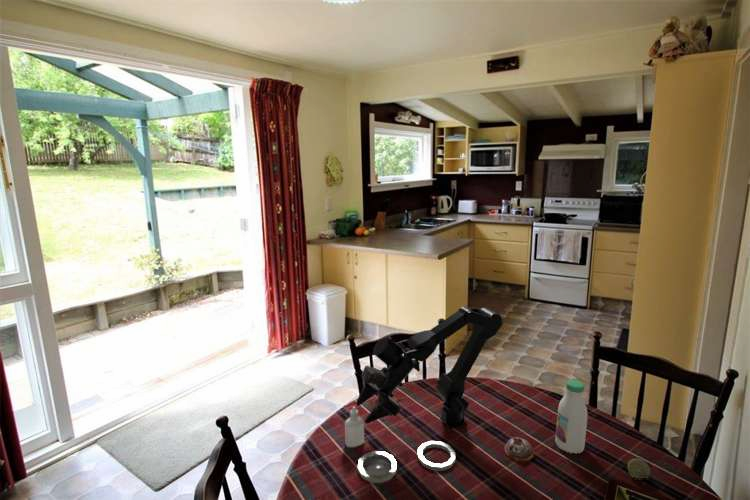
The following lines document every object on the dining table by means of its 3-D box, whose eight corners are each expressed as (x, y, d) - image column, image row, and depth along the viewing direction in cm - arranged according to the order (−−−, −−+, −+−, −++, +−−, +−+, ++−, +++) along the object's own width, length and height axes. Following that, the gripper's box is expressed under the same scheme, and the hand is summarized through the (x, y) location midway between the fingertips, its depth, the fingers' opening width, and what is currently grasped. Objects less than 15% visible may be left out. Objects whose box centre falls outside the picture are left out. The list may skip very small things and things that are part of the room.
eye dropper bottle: (362, 449, 117) (362, 412, 114) (344, 447, 117) (342, 410, 115) (365, 439, 121) (364, 403, 118) (347, 437, 122) (346, 402, 119)
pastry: (503, 457, 113) (504, 441, 112) (505, 441, 120) (506, 426, 119) (533, 465, 110) (534, 449, 109) (534, 447, 117) (535, 432, 116)
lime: (651, 480, 104) (654, 464, 103) (637, 485, 102) (639, 468, 101) (636, 468, 108) (638, 452, 107) (622, 472, 107) (624, 456, 106)
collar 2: (441, 440, 120) (442, 437, 120) (462, 463, 110) (462, 459, 110) (411, 450, 116) (411, 447, 115) (430, 475, 106) (430, 471, 106)
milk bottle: (583, 441, 119) (589, 379, 115) (584, 457, 112) (591, 393, 108) (555, 434, 122) (560, 374, 118) (554, 450, 115) (560, 386, 111)
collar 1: (386, 450, 116) (386, 447, 116) (403, 475, 106) (403, 471, 106) (352, 461, 112) (352, 457, 112) (367, 487, 102) (366, 483, 102)
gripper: (368, 345, 125) (334, 383, 124) (389, 373, 108) (350, 418, 106) (391, 364, 129) (359, 401, 128) (415, 394, 112) (378, 438, 110)
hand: (361, 413), depth 118 cm, fingers open, 9 cm apart
